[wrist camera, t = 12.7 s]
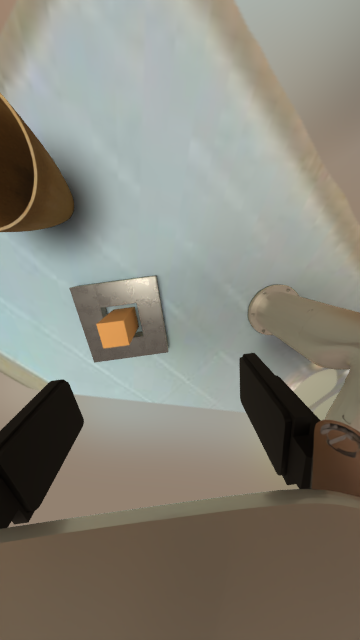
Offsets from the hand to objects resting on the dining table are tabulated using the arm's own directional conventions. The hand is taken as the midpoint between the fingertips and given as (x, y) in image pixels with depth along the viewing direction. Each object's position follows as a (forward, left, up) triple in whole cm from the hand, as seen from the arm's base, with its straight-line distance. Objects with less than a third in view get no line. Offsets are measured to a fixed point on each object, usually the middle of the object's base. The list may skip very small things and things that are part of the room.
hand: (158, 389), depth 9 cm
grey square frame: (+11, +5, -32) cm, 34 cm away
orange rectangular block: (+11, +5, -32) cm, 34 cm away
